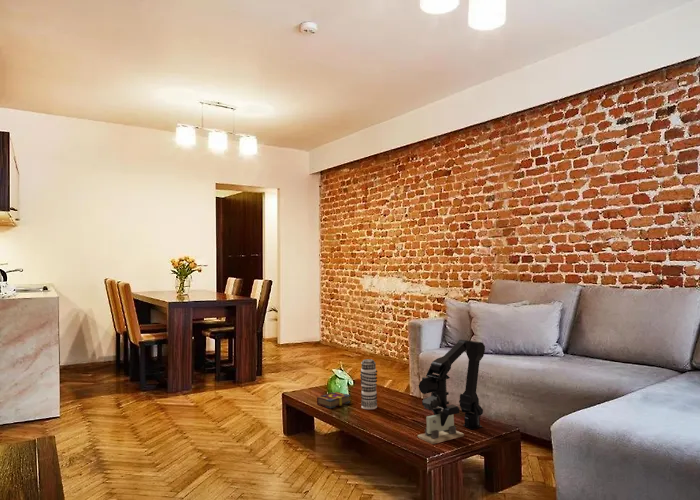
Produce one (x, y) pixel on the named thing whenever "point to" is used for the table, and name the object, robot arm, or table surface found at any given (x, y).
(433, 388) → the robot arm
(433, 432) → the hinge base
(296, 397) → the table surface
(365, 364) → the tower model
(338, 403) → the decorative book
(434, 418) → the door panel
